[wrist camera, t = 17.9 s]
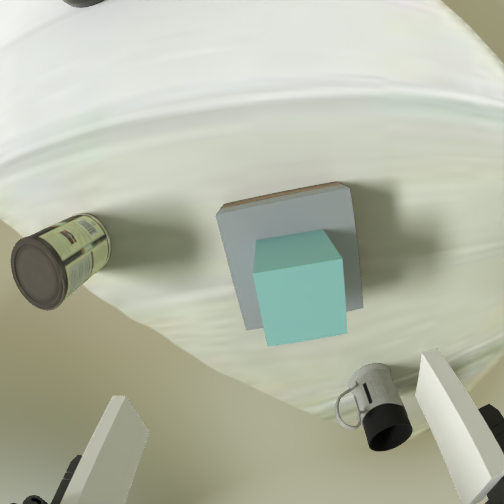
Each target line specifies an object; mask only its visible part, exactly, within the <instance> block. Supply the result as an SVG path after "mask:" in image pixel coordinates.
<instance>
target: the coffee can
mask: <svg viewBox="0 0 504 504" xmlns="http://www.w3.org/2000/svg"><path fill="white" fill-rule="evenodd" d="M110 252H111V243H110V238H109V235H108V232H107V230H106V229H105V227H104V226H103V224H102V223H101V222H100V221H99V220H98V219H97V218H95V217H94V216H92V215H89V214H86V213H79V214H76V215H73V216H72V217H70V218H68V219H65V220H63V221H61V222H59V223H57V224H54V225H52V226H50V227H48V228H46V229H43V230H41V231H39V232H37V233H35V234H33V235H31V236H28V237H24V238H22V239H20V240H19V241H18V242H17V243H16V244H15V246H14V248H13V250H12V254H11V268H12V274H13V277H14V280H15V282H16V284H17V286H18V288H19V290H20V292H21V293H22V294H23V296H24V297H25V298H26V299H27V300H28V301H29V302H30V303H31V304H32V305H34V306H36V307H37V308H40V309H43V310H53V309H55V308H57V307H58V306H59V305H60V304H61V303H62V302H63V300H65V299H66V298H67V297H68V296H69V295H70V294H71V293H72V292H74V291H75V290H76V289H77V288H78V287H79V286H80V285H82V284H83V283H84V282H85V281H86V280H88V279H89V278H90V277H91V276H92V275H94V274H95V273H96V272H97V271H98V270H100V269H102V268H103V267H104V266H105V265H106V263H107V262H108V260H109V257H110Z"/></svg>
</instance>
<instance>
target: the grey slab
mask: <svg viewBox="0 0 504 504" xmlns="http://www.w3.org/2000/svg"><path fill="white" fill-rule="evenodd" d="M216 218H217V222H218V226H219V230H220V234H221V238H222V242H223V245H224V249H225V253H226V257H227V261H228V265H229V268H230V272H231V276H232V280H233V283H234V287H235V291H236V294H237V298H238V302H239V305H240V309H241V313H242V316H243V320H244V323H245V327H246V330H252V329H258V328H264V327H263V322H262V317H261V312H260V307H259V303H258V298H257V293H256V288H255V283H254V278H253V274H252V273H253V265H254V256H255V247H256V240H261V239H267V238H273V237H279V236H285V235H291V234H297V233H303V232H309V231H315V230H321V229H323V230H324V231H325V233H326V234H327V236H328V237H329V239H330V240H331V242H332V244H333V245H334V247H335V248H336V250H337V251H338V253H339V254H340V256H341V257H342V260H343V272H344V286H345V301H346V312H347V311H352V310H356V309H360V308H363V297H362V284H361V272H360V262H359V253H358V244H357V235H356V227H355V220H354V213H353V206H352V199H351V193H350V188H348V187H346V186H344V185H342V184H341V185H336V186H330V187H325V188H319V189H314V190H309V191H303V192H298V193H293V194H288V195H283V196H278V197H273V198H268V199H263V200H259V201H254V202H249V203H244V204H240V205H235V206H231V207H226V208H222V209H220V210H219V211H218V213H217V214H216Z"/></svg>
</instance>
